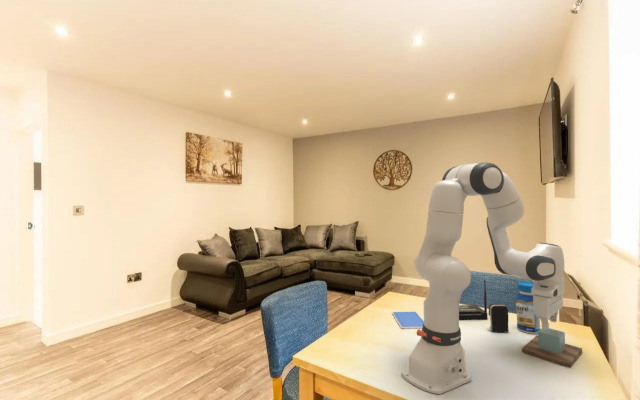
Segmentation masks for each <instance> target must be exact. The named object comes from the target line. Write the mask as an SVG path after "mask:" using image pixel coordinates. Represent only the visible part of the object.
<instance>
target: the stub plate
mask: <svg viewBox="0 0 640 400" xmlns="http://www.w3.org/2000/svg"><path fill="white" fill-rule="evenodd" d="M521 353H523V354H526V355H529V356H533V357H536V358H537V359H538V358H539V359H542V360H545V361H547V362H550V363H553V364H556V365H560V366H563V367H566V368H568V369H571V368H572V367H573V365H574V364H575V363H576V362H577V360H578V359H579V358H580V357H581V355H582V353H583V347H578V346H575V345H571V344H569V343H565V350H564V351H563V352H562V353H561V354H557V353H553V352H550V351H547V350H544V349H541V348H538V335H535V336H534V337H533V338H531V340H529V341H528V342H527V343H525V345H524V346H522V347H521Z"/></svg>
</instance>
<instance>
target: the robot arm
mask: <svg viewBox="0 0 640 400" xmlns="http://www.w3.org/2000/svg"><path fill="white" fill-rule="evenodd" d="M431 191H432V192H431V193H430V199H429V204H428V210H427V211H428V212H427V221H426V229H425V234H424V238H423V240H422V241H423V242H422V243H421V247H420V250H419V252H418V253H417V254H416V256H415V258H414V260H413V263H414V268H415V270H416V272H417V273H418V275H419V276H420V277H421V278H423V279H424V280H426V281H428V283H429V284H428V285H429V288H428V293H427V296H426V298H425V299H424V300H423V321H424V324H423V327H422V329H417V330H416V336H419V337H420V339H419V341H418V342H417V343H416V345H415V346H414V348H413V349H412V352H411V353H410V355H409V357H408V364H407V365H406V366H405V367H404V368H403V369H402V370H401V376H402V378H403V379H405V381H406V382H408V383H410V384H411V385H413V386H414V387H417V388H419V389H421V390H422V391H426V392H428V393H432V394H436V395H441V394H444V393H447V392H449V391H451V390H453V389H456V388H458V387H460V386H463V385H464V384H467V383H469V382H471V381H472V376H471V375H470V373H469V372H468V368H467V366H468V365H467V359H466V358H467V357H466V351H465V349H464V348H463V346H462V344H461V341H462V332H461V331H462V330H461V327H460V320H459V305H460V304H461V303H460V302H461V297H462V294H463V292H464V291H465V290H466V289H467V288H468V287H469V285H470V284H471V280H472V273H471V270H470V269H469V267H468V266H467V265H466V264H465V263H464V262H462V261H461V259H459V258H457V257H454V256H452V253H453V250H454V249H455V248H454V247H455V246H456V244H457V242H458V241H459V240H460V239H461V238H462V237H461V236H462V232H463V231H462V230H463V219H464V207H465V205H464V204H465V201H466V199H467V197H468V196H469V197H472V196H473V197H474V196H480V197H481V199H482V201H483V204H484V206H485V209H486V211H487V217H486V228H487V231H488V235H489V239H490V243H491V246H492V250H493V257H494V258H493V259H494V265H495V267H496V270H497V271H498V272H499V273H501V274H503V275H505V276H506V275H507V276H512V277H516V278H521V279H525V280H529V281H532V282H533V283H534V285H533V287H532V289H531V293H532V294H534V296H533V305H534V313H535V316H536V317H539V318H540V323H541V329H542V328H545V329H548V328H550V323H549V321H550V322H551V323H557V322H558V315H559V311H560V310H561V309H562V308H563V306H564V296H563V295H565V293H566V291H565V289H566V288H565V277H564V271H565V257H564V255H565V254H564V252H563V248H562V247H561V246H560V245H558V244H554V243H547V242H536V244H535V247H533V249H530V250H529V251H527V252H526V251H521V250H517V249H515V248H513V247H512V246H511V244H510V240H509V236H508V232H507V228H508V227H511V226H513V225H514V224H516V223H518V222H519V221H521V219H522V218H523V215H524V214H525V206H524V203H523V200H522V198H521V196H520V193H519V191H518V189H517V187H516V186H515V184H514V183H513V180H512V179H511V177H510V176H509V175H508V174H507V173H506V172H503V171H502V170H501V168H500V167H499V166H498V165H497V164H495V163H492V162H487V161H486V162H479V163H478V162H477V163H465V164H461V165H455V166H453V167H451V168H449V169H448V170H446V171H445V173H444V174H443V176H442V179H441V180H439V181H437V182H436V183H435V184H434V185H433V188H432V190H431Z"/></svg>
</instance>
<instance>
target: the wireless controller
mask: <svg viewBox="0 0 640 400" xmlns="http://www.w3.org/2000/svg"><path fill="white" fill-rule="evenodd" d="M486 286H487V285H486V279H484V280H483V287H484V288H483V306H484V307H483V308H484V309H483V308H481V307H480V306H478V305H476V304H466V305H465V304H461V305H460V304H459V321H488V302H487V301H488V300H487V287H486Z"/></svg>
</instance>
